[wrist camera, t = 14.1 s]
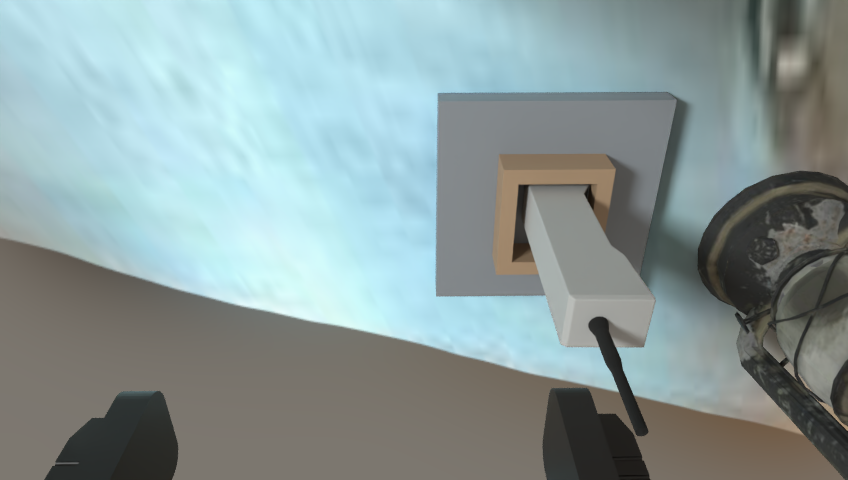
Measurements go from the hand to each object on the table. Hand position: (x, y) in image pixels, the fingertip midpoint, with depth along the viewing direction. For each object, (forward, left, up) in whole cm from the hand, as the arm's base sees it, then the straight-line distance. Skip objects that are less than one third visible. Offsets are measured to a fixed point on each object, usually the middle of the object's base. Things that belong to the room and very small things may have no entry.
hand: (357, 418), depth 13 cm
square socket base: (+14, +12, -38) cm, 42 cm away
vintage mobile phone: (+13, +12, -36) cm, 41 cm away
